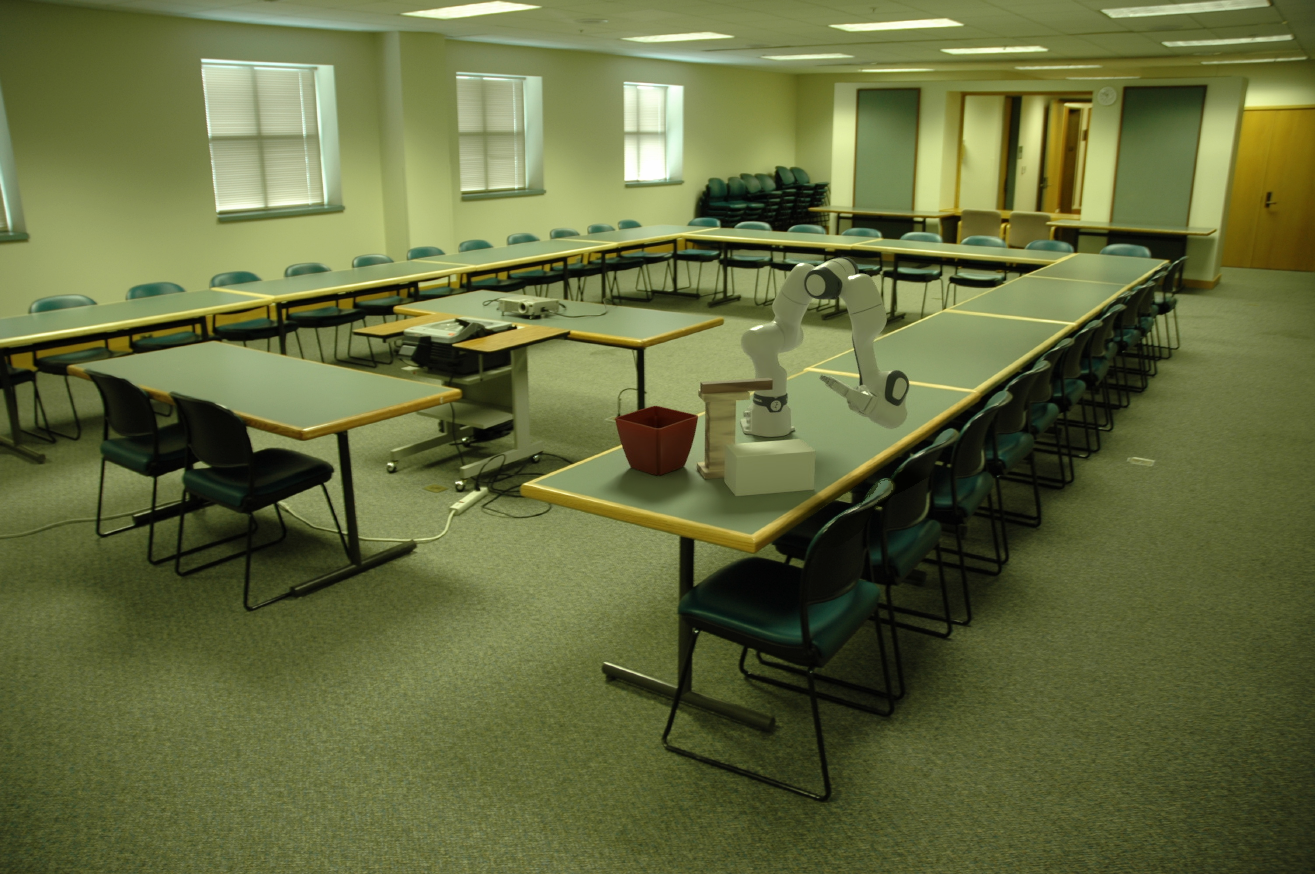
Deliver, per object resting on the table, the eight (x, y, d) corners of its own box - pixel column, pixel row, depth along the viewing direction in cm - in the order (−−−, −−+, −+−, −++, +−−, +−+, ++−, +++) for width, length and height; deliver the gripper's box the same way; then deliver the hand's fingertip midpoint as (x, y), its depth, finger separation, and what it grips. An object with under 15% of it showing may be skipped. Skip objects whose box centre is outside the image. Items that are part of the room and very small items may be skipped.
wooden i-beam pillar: (696, 468, 290) (697, 388, 282) (739, 464, 293) (741, 386, 285) (705, 479, 281) (705, 396, 273) (748, 475, 284) (750, 394, 276)
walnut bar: (700, 391, 279) (700, 381, 278) (769, 387, 284) (769, 377, 283) (702, 393, 276) (702, 384, 275) (772, 389, 281) (772, 380, 280)
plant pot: (614, 468, 291) (613, 417, 286) (655, 453, 305) (655, 404, 299) (658, 482, 279) (658, 429, 274) (699, 466, 292) (699, 415, 287)
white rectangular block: (724, 482, 278) (725, 444, 275) (799, 476, 283) (800, 438, 279) (735, 496, 267) (736, 457, 263) (813, 489, 272) (815, 451, 268)
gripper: (853, 383, 299) (819, 364, 295) (880, 399, 280) (845, 379, 276) (843, 399, 300) (809, 381, 296) (869, 417, 281) (834, 397, 277)
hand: (826, 380), depth 285 cm, fingers open, 8 cm apart
